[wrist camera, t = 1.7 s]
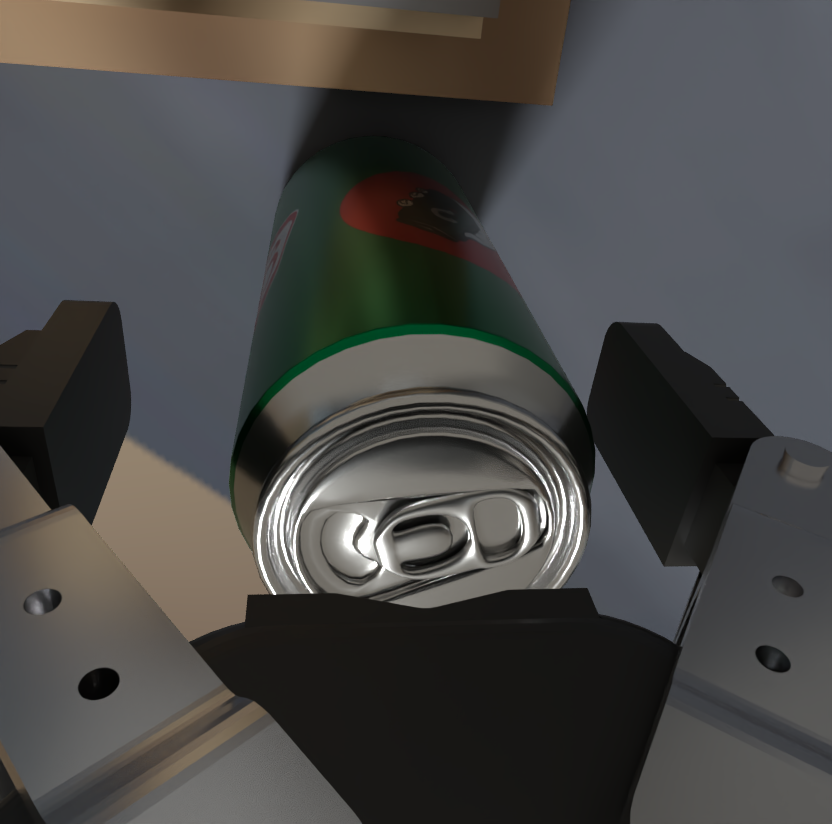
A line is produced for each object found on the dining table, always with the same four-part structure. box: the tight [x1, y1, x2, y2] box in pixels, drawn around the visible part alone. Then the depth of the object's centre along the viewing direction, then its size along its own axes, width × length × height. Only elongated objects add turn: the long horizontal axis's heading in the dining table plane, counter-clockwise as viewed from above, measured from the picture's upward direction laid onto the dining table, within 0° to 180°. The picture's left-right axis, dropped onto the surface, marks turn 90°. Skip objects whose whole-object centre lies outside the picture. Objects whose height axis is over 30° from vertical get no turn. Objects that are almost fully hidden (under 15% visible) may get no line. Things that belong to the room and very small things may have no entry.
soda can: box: [229, 136, 595, 608], centre depth 14 cm, size 5×5×12 cm
